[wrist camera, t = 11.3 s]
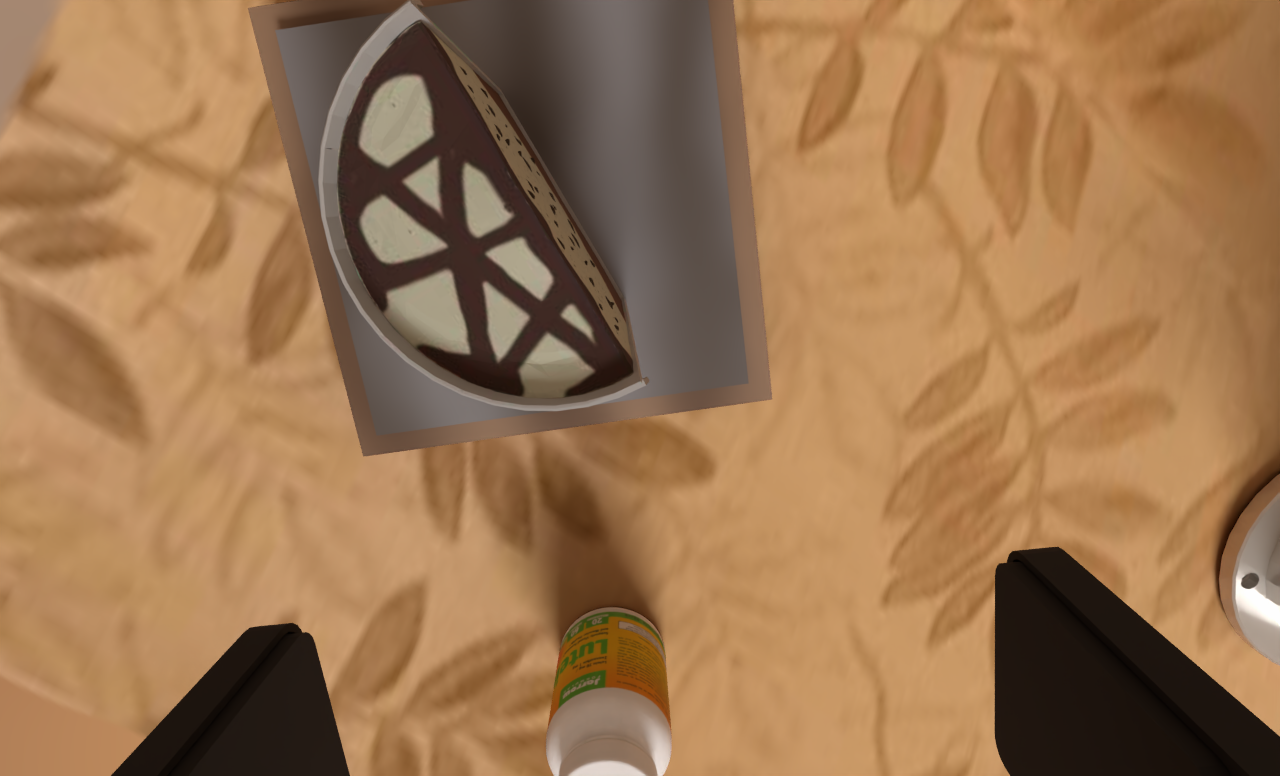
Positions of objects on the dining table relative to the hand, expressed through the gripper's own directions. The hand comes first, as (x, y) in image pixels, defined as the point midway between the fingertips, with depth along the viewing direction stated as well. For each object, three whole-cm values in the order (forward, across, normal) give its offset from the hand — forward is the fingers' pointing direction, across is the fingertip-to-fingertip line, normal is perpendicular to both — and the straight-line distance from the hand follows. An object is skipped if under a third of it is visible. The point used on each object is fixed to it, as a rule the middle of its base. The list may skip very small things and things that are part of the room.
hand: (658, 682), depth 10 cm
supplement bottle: (+25, +4, +16) cm, 30 cm away
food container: (+21, +6, -5) cm, 23 cm away
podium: (+24, +4, -6) cm, 25 cm away
